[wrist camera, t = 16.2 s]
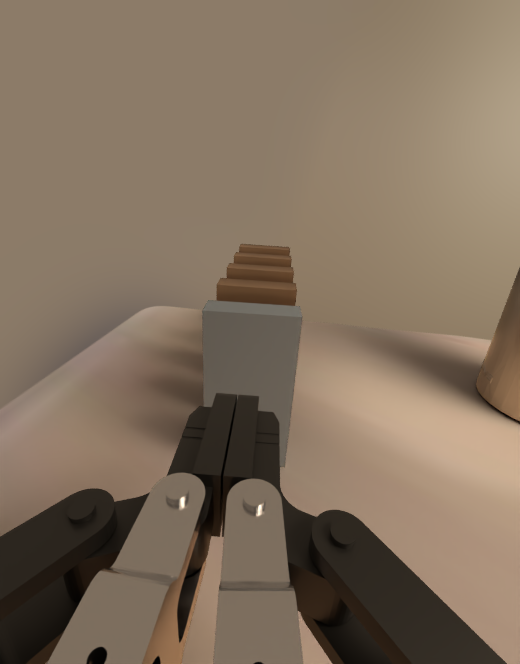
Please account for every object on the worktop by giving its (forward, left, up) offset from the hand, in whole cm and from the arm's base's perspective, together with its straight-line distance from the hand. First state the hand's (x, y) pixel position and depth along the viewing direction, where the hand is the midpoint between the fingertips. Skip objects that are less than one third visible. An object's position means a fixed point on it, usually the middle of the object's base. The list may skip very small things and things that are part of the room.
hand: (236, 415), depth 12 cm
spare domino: (+3, -6, -8) cm, 11 cm away
